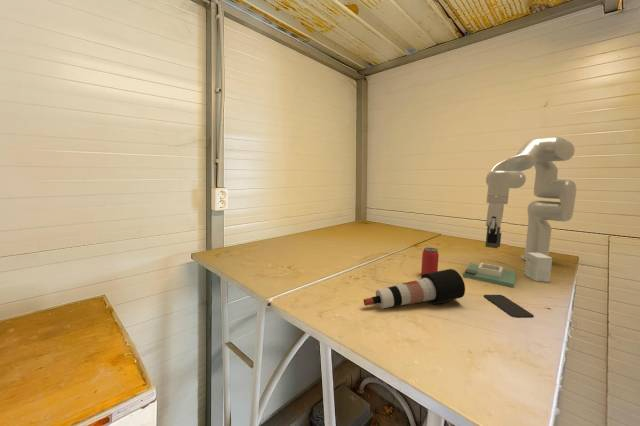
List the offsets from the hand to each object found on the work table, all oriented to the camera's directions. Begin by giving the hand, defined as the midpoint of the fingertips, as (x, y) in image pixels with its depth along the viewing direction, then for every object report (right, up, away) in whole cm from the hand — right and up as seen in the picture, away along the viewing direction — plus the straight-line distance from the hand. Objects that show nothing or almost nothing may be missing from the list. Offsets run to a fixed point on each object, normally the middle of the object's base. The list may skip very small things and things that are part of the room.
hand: (492, 241), depth 114 cm
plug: (0, -2, 0) cm, 2 cm away
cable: (-44, -19, -24) cm, 54 cm away
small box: (+19, -16, 0) cm, 25 cm away
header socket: (0, -14, +2) cm, 14 cm away
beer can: (-27, -15, +2) cm, 31 cm away
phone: (-12, -20, -25) cm, 34 cm away
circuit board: (0, -15, +2) cm, 16 cm away
